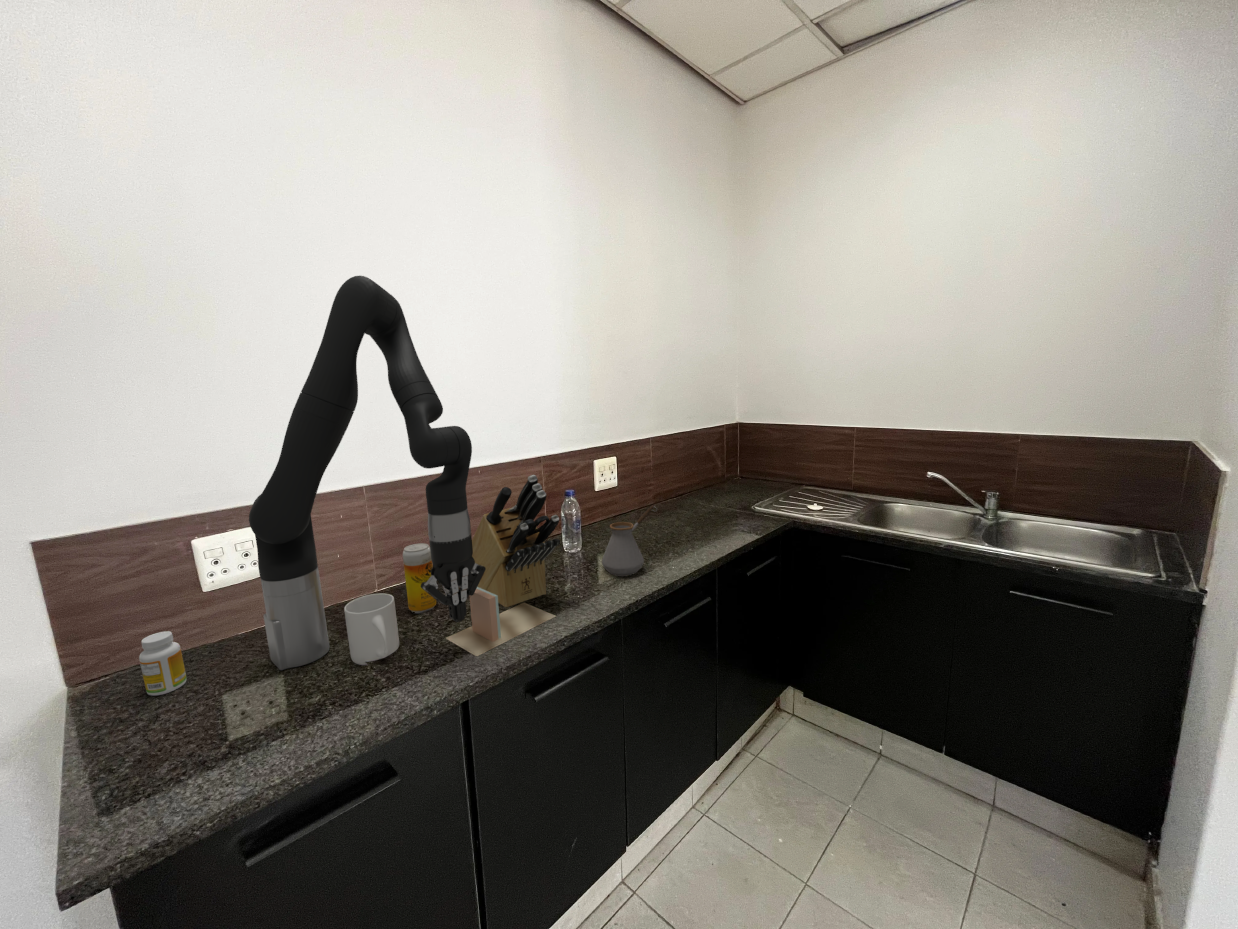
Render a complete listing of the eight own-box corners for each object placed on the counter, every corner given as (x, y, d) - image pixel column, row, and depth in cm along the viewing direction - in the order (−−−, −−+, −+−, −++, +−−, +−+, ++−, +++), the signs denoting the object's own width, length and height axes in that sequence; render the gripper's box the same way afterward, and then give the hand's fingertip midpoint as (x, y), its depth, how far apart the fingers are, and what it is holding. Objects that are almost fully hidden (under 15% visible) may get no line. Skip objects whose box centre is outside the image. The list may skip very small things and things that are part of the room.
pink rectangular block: (492, 641, 98) (489, 599, 97) (472, 631, 103) (468, 590, 101) (501, 637, 100) (497, 595, 98) (480, 627, 104) (477, 586, 103)
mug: (363, 680, 89) (355, 624, 87) (346, 654, 97) (339, 603, 96) (412, 661, 94) (406, 608, 92) (391, 638, 103) (386, 589, 101)
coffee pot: (627, 582, 127) (625, 526, 124) (593, 573, 134) (590, 519, 131) (672, 557, 143) (671, 507, 141) (639, 550, 150) (638, 502, 148)
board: (477, 661, 93) (476, 656, 93) (445, 642, 100) (445, 638, 100) (556, 620, 108) (556, 616, 108) (524, 606, 115) (523, 602, 115)
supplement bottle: (183, 674, 92) (173, 626, 91) (190, 685, 89) (180, 634, 87) (144, 689, 88) (133, 638, 87) (149, 700, 85) (138, 648, 83)
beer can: (427, 615, 113) (420, 552, 110) (403, 613, 114) (396, 551, 111) (441, 603, 118) (435, 543, 116) (419, 602, 120) (412, 542, 117)
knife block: (525, 627, 106) (515, 485, 100) (458, 580, 132) (447, 465, 127) (569, 610, 113) (562, 476, 108) (497, 568, 139) (488, 459, 134)
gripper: (427, 547, 86) (437, 640, 89) (491, 528, 95) (498, 612, 98) (406, 539, 90) (416, 628, 93) (469, 522, 100) (476, 602, 103)
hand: (458, 619), depth 96 cm, fingers closed
